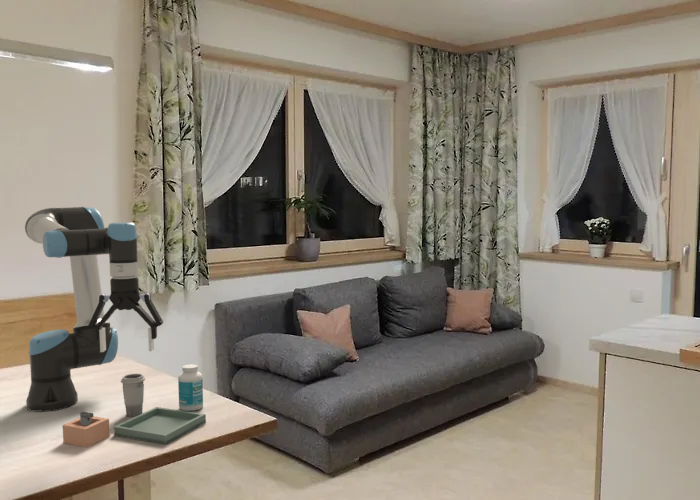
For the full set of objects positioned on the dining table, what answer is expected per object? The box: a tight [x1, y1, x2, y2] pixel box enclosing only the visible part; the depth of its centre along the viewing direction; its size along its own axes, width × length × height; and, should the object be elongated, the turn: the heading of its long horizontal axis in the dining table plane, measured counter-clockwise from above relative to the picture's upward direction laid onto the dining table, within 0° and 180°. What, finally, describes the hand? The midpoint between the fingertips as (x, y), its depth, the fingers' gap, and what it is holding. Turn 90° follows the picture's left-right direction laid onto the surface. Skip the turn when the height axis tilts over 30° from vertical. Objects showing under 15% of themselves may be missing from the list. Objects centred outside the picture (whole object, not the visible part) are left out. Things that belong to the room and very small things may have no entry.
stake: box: [79, 411, 94, 426], centre depth 176 cm, size 4×3×8 cm
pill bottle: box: [177, 363, 204, 412], centre depth 201 cm, size 8×7×14 cm
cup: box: [120, 372, 146, 418], centre depth 196 cm, size 7×7×12 cm
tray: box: [113, 406, 207, 445], centre depth 184 cm, size 18×18×2 cm
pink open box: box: [62, 415, 111, 448], centre depth 177 cm, size 8×10×5 cm
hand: (127, 350), depth 183 cm, fingers open, 13 cm apart
